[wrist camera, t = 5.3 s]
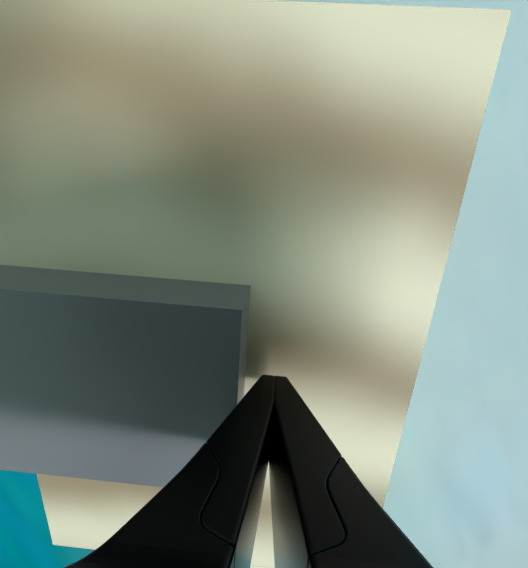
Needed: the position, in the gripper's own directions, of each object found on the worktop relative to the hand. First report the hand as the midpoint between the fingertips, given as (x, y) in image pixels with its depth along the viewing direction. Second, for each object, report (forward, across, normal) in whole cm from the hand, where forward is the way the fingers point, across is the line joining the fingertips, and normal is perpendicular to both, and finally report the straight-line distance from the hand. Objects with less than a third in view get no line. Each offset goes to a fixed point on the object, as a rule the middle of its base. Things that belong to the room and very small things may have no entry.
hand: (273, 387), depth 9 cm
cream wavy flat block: (+3, +2, 0) cm, 4 cm away
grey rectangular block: (+1, +6, 0) cm, 6 cm away
